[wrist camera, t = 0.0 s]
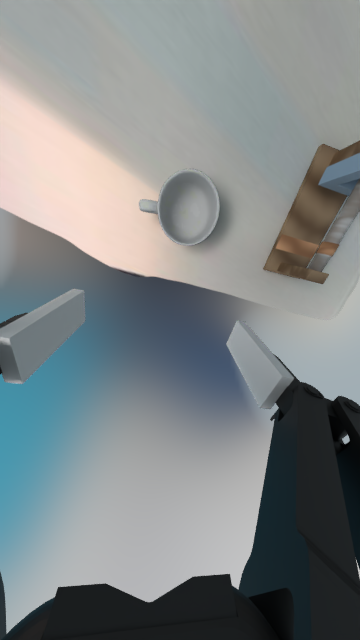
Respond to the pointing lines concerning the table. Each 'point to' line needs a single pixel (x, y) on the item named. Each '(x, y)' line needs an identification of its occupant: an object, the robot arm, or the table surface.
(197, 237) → the teacup
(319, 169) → the wooden rod stand
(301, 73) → the table surface
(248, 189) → the table surface
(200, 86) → the table surface
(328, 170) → the ring
